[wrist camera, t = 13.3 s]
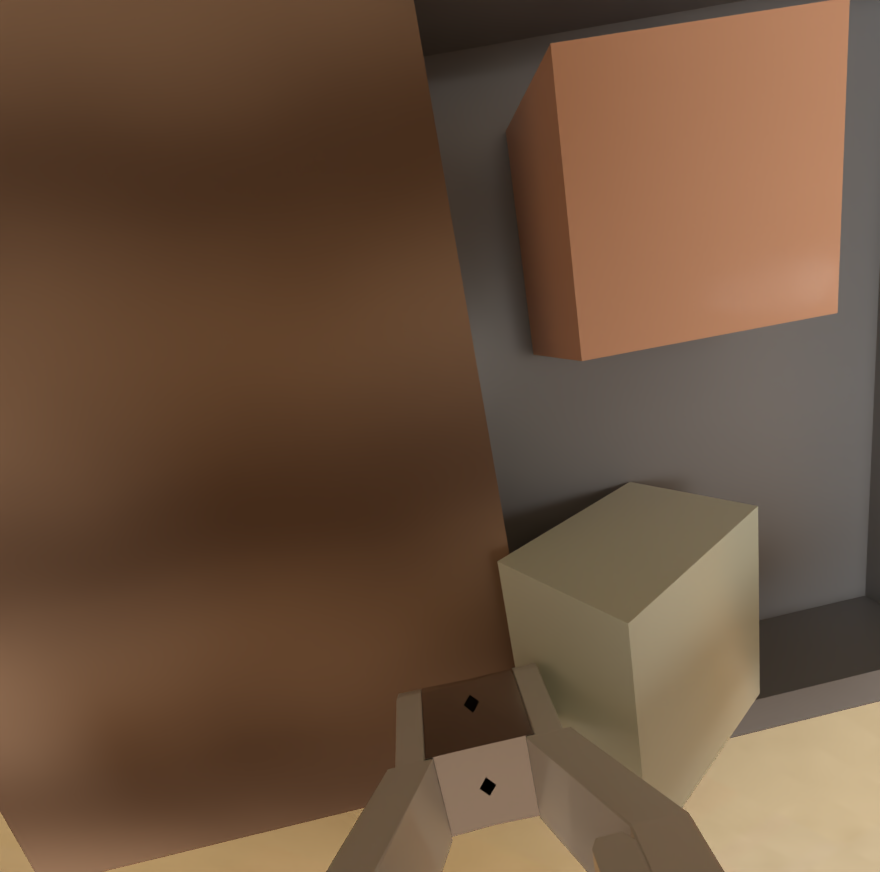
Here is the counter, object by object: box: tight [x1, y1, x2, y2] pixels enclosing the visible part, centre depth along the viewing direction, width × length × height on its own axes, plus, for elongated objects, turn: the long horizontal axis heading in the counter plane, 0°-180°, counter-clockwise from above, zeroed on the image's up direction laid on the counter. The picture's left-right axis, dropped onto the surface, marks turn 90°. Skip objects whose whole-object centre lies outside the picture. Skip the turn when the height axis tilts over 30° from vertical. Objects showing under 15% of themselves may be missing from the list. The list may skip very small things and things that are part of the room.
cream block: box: [497, 482, 760, 808], centre depth 10 cm, size 5×5×3 cm
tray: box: [414, 0, 880, 738], centre depth 11 cm, size 18×12×3 cm, turn 11°
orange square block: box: [506, 0, 850, 361], centre depth 9 cm, size 5×5×3 cm
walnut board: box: [0, 0, 515, 872], centre depth 10 cm, size 18×13×2 cm
